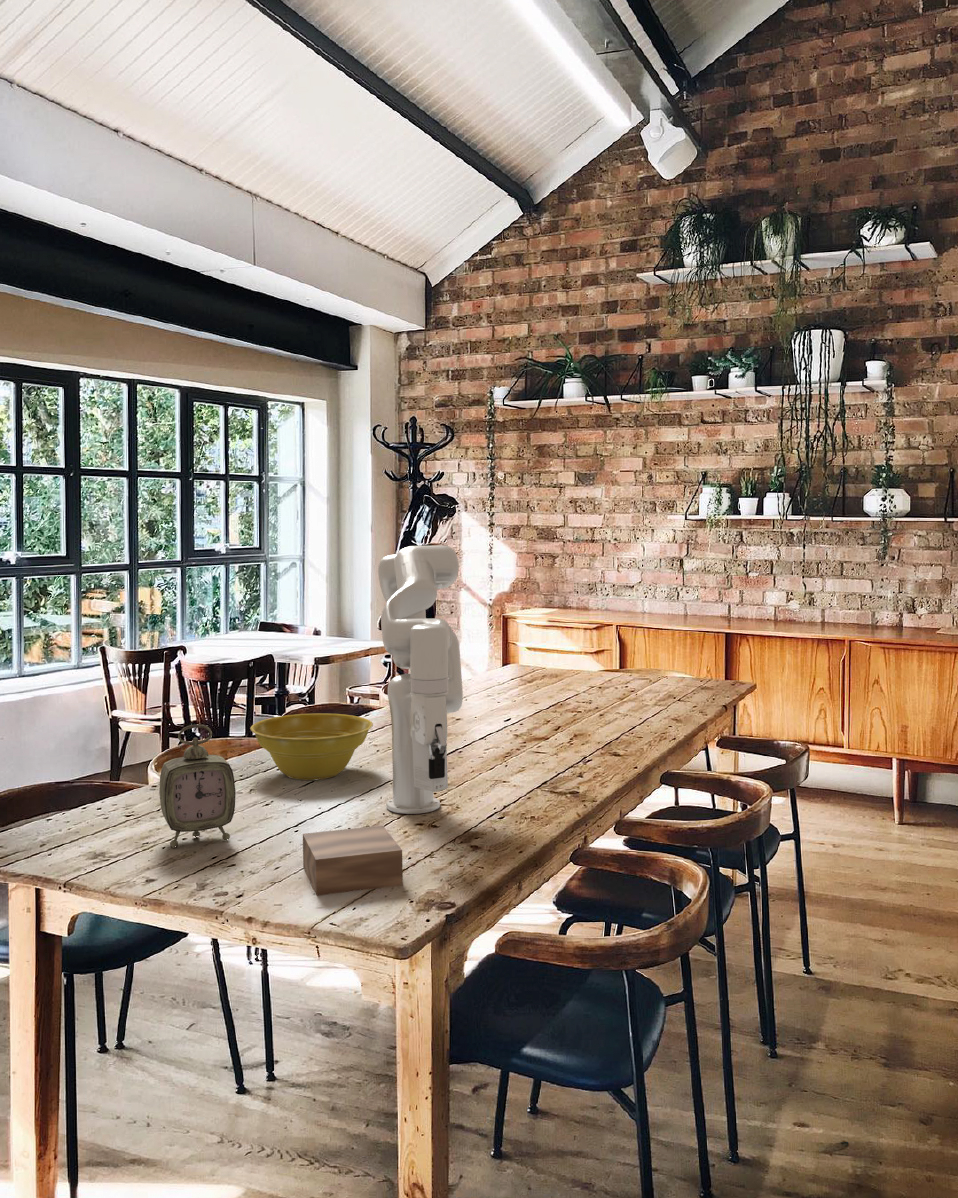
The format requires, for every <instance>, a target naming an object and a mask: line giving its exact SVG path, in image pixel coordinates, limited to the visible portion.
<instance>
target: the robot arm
mask: <svg viewBox="0 0 958 1198" xmlns="http://www.w3.org/2000/svg"><path fill="white" fill-rule="evenodd" d="M459 565H460V564H459V558H458V555H457V553H456V551H455V550H454V548H452V547H451V546H448V545H409V546H406V547H404V548H401V549H400V550H399V551H398V552H397V553H396V554H395V553H394V554H389V555H386V556H383V558H381V560H380V561H379V564H378V570H377V573H378V581H379V585H380V589H381V592H382V596H383V598H384V600H385V604H384V606H383V609H382V610H381V618H380V625H381V636H382V644H383V648H384V649H385V652H387V653H388V654H389V655H392V660H393V663H394V664H395V666H396V667H398V668H400V669H406V670H409V671H410V673H403V674H400V675H399V674H398V675H396V676H394V677H393V678H391V679H390V681H389V682H388V684H387V699H388V705H389V711H390V720H391V742H392V743H391V745H392V746H391V747H392V749H391V750H392V751H391V752H392V756H391V757H392V798H391V799H389V800H387V801H386V809H387V810H388V811H390V812H393V813H396V814H402V815H403V814H404V815H405V814H406V815H409V814H410V815H413V814H414V815H417V814H419V815H420V814H426V813H430V812H433V811H437V810H438V809H439V808H440V807H441V802H440V800H439V799H438V798H436V797H434V792H432V791H428V790H425V789H421V788H417V787H415V786H414V768H413V745H412V729H414V731H415V740H416V741H417V742H419V743H420V744H422V745H423V746H427V745H428V746H429V752H430V758H431V759H429V778H430V779H436V778H444V777H445V752H446V750H445V749H446V747H448V743H447V741H448V714H453V713H456V712H459V711H460V709H461V708H462V706H463V699H464V694H463V692H464V691H463V677H462V664H461V651H460V644H459V638H458V636H457V634H456V633H455V631H453V628H452V627H451V625H450V624H449V623H448V621H447V620H445V619H443V618H434V617H433V618H427V617H426V616H427V615H426V614H427V613H426V612H427V611H426V610H428V609H429V608H431V607H432V606H433V605H434V603H435V602H436V599H437V597H438V589H439V590H440V589H441V590H443V589H447V588H449V587H451V586H452V585H453V584H455V582H456V580H457V579H458V576H459V571H460V566H459ZM433 739H434V740H437V741H438V743H432V740H433ZM433 747H438V748H436V749H435V751H434V749H433Z"/></svg>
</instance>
